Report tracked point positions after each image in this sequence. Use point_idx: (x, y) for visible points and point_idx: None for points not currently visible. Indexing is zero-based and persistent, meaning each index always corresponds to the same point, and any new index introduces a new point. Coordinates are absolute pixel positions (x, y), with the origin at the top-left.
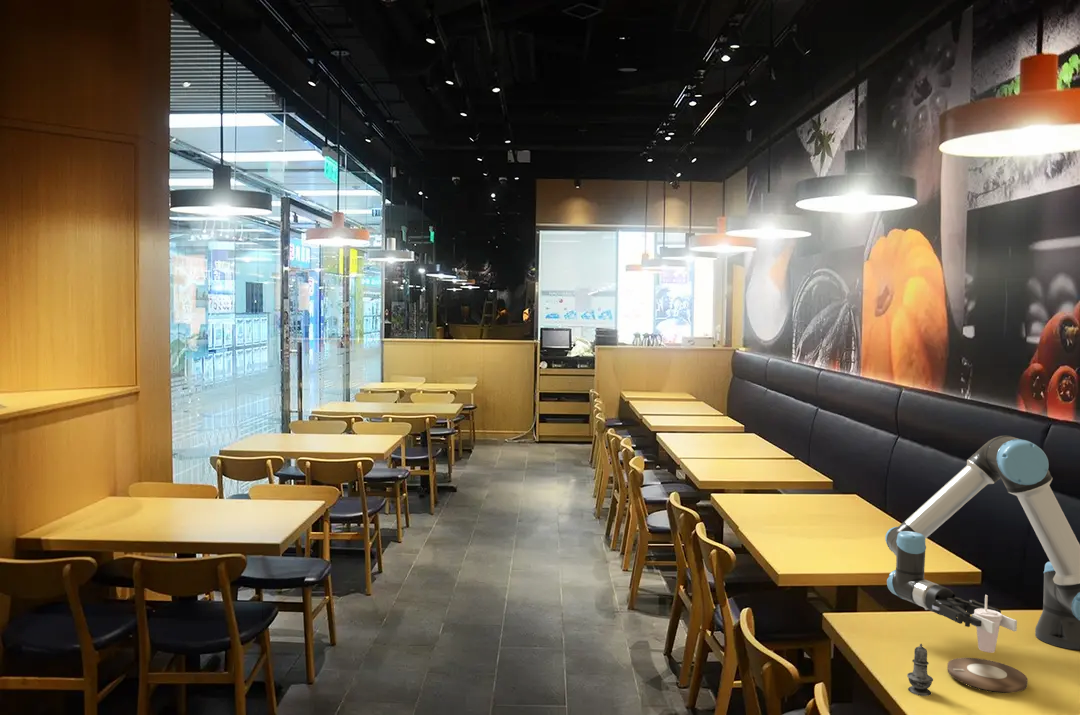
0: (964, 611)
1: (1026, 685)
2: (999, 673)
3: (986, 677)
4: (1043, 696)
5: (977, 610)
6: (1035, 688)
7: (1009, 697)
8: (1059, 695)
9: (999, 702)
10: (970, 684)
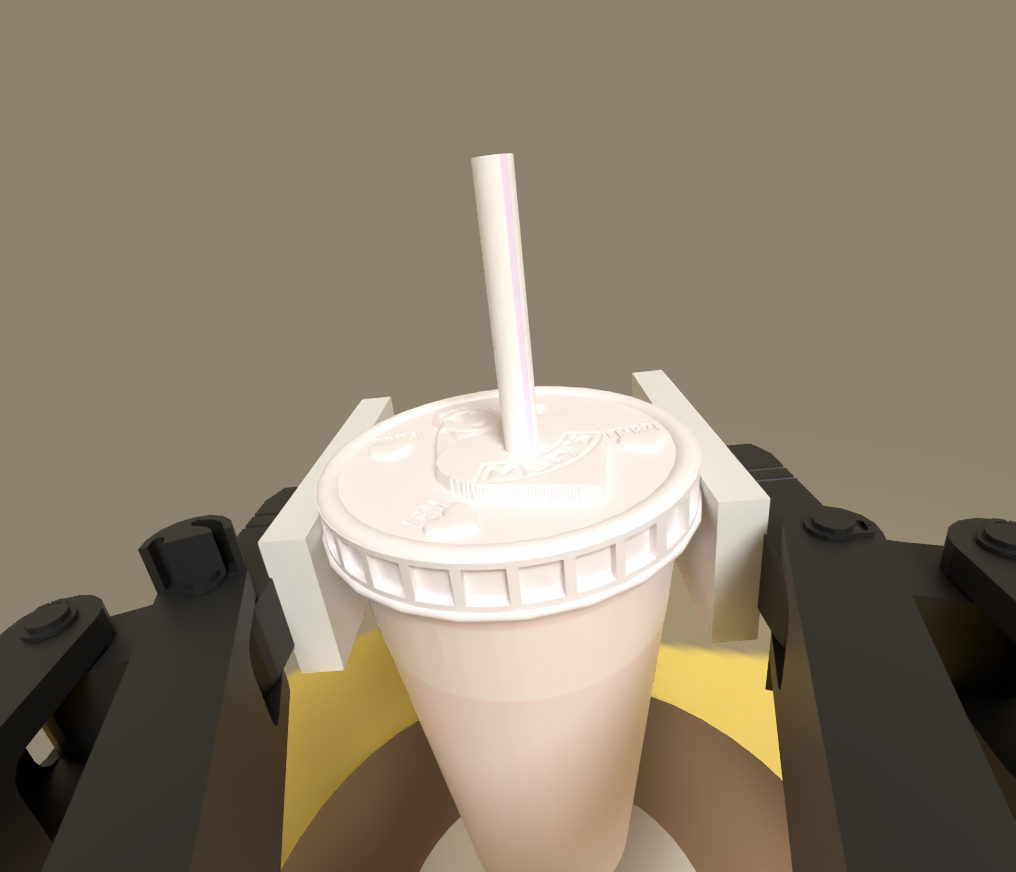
0: (852, 626)
1: None
2: None
3: (649, 818)
4: (405, 700)
5: (600, 507)
6: (336, 788)
7: None
8: (318, 697)
9: (692, 682)
10: None
